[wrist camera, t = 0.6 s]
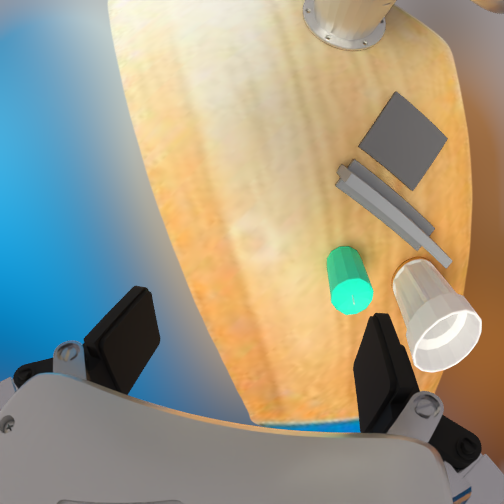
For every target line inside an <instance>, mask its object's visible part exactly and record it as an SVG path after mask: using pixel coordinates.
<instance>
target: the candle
mask: <svg viewBox="0 0 504 504" xmlns="http://www.w3.org/2000/svg"><path fill="white" fill-rule="evenodd" d="M327 271H328V278H329V286H330V294H331V302H332V304H333V305H334V307H335V308H336V309H337V310H339V311H340V312H342V313H344V314H345V315H348V314H357V313H359V312H361V311H363V310H364V309H366V308H367V307H368V305H369V304H370V302H371V301H372V297H373V288H372V286H371V283H370V280H369V278H368V275H367V272H366V270H365V267H364V265H363V262H362V259H361V257H360V255H359V254H358V252H357V250H355V249H353V248H351V247H349V246H342V247H338V248H336V249H335V250H333V251H331V253H330V255H329V256H328V258H327Z"/></svg>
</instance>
